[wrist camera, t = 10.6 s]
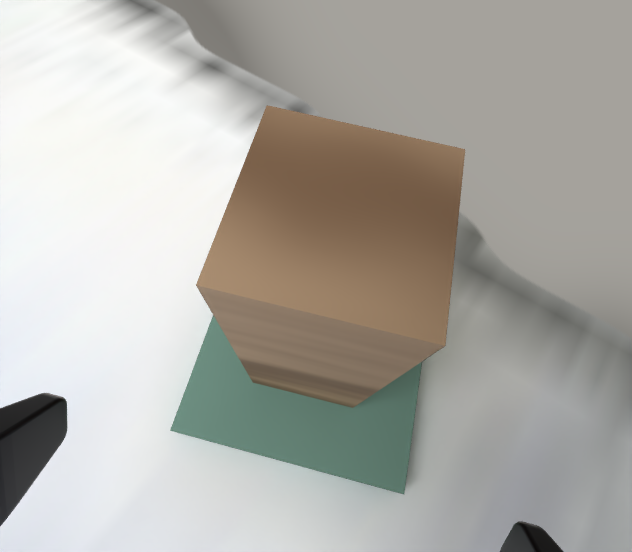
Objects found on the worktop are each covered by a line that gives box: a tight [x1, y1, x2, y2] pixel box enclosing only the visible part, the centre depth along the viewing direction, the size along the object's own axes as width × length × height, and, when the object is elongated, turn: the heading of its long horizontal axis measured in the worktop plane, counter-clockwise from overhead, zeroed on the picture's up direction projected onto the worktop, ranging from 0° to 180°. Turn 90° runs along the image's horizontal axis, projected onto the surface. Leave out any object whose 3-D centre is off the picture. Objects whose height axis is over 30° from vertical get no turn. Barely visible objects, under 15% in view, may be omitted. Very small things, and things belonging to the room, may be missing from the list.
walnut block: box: [196, 105, 465, 408], centre depth 14 cm, size 5×5×12 cm
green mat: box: [170, 315, 422, 494], centre depth 21 cm, size 11×11×1 cm
